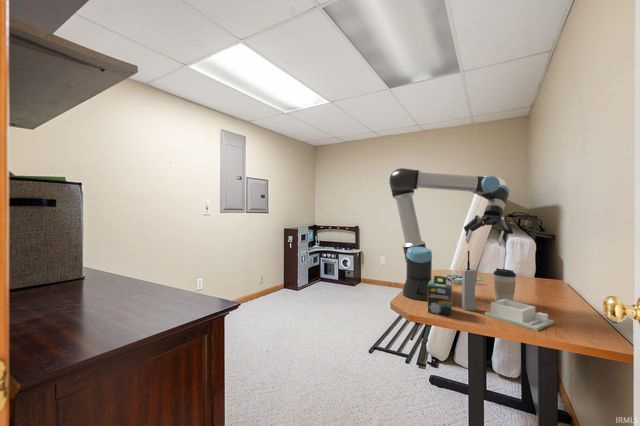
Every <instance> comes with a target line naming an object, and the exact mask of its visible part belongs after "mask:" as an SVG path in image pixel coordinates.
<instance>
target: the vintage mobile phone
mask: <svg viewBox="0 0 640 426" xmlns="http://www.w3.org/2000/svg"><path fill="white" fill-rule="evenodd" d="M466 264H467V267H466V268H463V269H462V271H461V272H462V273H461V278H462V279H461V307H462V309H463V310H464V311H471V312H472V311H473V312H476V311H478V307H477V305H476V303H475V302H476V298H475V297H476V284H477V279H478V273H479V272H478V270H476V269H471V268H470V267H471V265H470V250H468V251H467V262H466Z"/></svg>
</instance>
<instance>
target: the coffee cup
mask: <svg viewBox="0 0 640 426" xmlns="http://www.w3.org/2000/svg"><path fill="white" fill-rule="evenodd" d="M492 274H493V277H494V278H493V285H494V295H495V301H498V300H502V299H506V300H510V301H514V297H515V296H514V295H515V291H516V290H515V289H516V284H517V281H516V279H517V274H516V273H515V272H514V270H511V269H504V268H496V269H495V271H493V273H492Z"/></svg>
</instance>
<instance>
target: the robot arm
mask: <svg viewBox="0 0 640 426" xmlns="http://www.w3.org/2000/svg"><path fill="white" fill-rule="evenodd" d="M388 183H389V187H390V191H391V195H392V198H393V199H395V200H396V205H397V210H398V214H399V220H400V225H401V230H402V234H403V240H404V243H403V244H402V249H403V253H404V259H405V260H404V261H405V263H406V279H405V282H404V285H403V288H402V295H403V296H404V297H405V298H408V299H412V300H418V301H428V284H429V281H432V271H433V270H432V269H433V268H432V267H433V265H432V260H433V254H432V250H431V249H430V248H428V247H427V245H426V242H425V241H424V240H422V237H421V233H420V227H419V221H418V217H417V213H416V208H415V207H416V206H415V204H414V199H413V196H414V194H415V190H418V189H432V190H444V191H445V190H446V191H457V192H458V191H459V192H470V193H473V194H475V195H477V196H479V197H481V198H483V199H485V200H487V203H486V206H485V209H484V212H483V215H482V216H479V215H478V214H476V215H475V216H474V218H473V219H471V220H470V221H469V222H468V223H467V224H466V225H465V226H463V229H464V231H465V232H466V233H465V236H466V237H465V242H466V244H468V245H469V244H470V241H471V238H472V236H473V232H474V231H476V230H478V229H479V228H481V227H485V226H496V227H497V228H498V229H499V230H500V231H501V233H500V235H499V239H498V244H499V245H498V246H499V247H503V243H504V241H506V240H507V238H508V235H513V234H514V229H513V228H512V226H511V223H510V222H509V217H508V215H504V216H503V213H504V210H505V208H506V204H507V202H508V201H507V200H508V199H509V196H510V195H509V194H510V189H509V187H508V186H507V185H505V184H501V181H500V179H498V177H496V176H494V175H487V176H480V175H478V176H477V175H465V174H449V173H435V172H421V170H419V169H413V168H412V169H410V168H404V167H403V168H402V167H401V168H400V167H399V168H396V169H394V170H393V171H392V173H391V174H390V176H389V182H388ZM501 221H502V222H504V223H505V225H506V227H507V228H506V227H505V226H504V225H503V224H502V223H501Z"/></svg>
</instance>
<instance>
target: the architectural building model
mask: <svg viewBox="0 0 640 426" xmlns="http://www.w3.org/2000/svg"><path fill="white" fill-rule="evenodd" d="M484 316H487V317H490V318H494V319H497V320H500V321H503V322H507V323H511V324H513V325H515V326H516V325H517V326H520V327H522V328H527V329H529V328H530V330H532V329H533V331H536V332H538V331H540V330H542V329H544V327H545V328H547V327H549V326H552V325H553V324H554V323H555V320H553V319H549V314H548V313H544V312H541V311H539V312H536V305H535V306H534V305H531V304H527V303H523V302H520V301H519V302H518V301H514V300H513V301H510V300H506V299H502V300H498V301H496V300H495V301H492V302H490V310H488V311H485V312H484ZM546 326H547V327H546Z"/></svg>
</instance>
